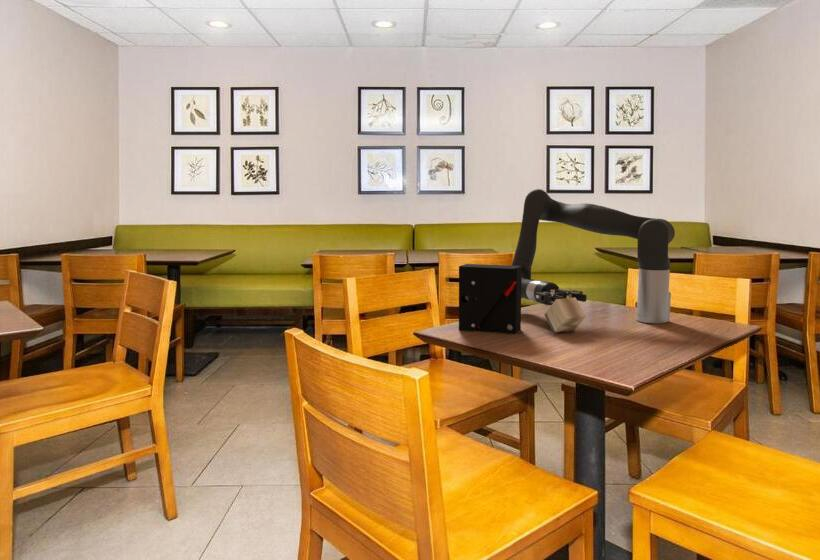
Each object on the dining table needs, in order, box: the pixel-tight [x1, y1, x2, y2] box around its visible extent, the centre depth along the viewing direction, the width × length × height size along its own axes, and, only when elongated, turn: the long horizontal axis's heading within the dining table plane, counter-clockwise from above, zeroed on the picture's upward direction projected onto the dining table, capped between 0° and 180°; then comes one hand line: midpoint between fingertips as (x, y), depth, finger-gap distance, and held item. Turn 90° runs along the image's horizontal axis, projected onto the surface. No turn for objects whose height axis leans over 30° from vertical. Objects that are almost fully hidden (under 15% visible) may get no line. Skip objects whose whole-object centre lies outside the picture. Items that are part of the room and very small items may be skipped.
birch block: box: [544, 297, 587, 335], centre depth 165 cm, size 7×7×8 cm
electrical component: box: [458, 263, 522, 335], centre depth 170 cm, size 18×10×20 cm, turn 65°
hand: (574, 299), depth 168 cm, fingers open, 8 cm apart
